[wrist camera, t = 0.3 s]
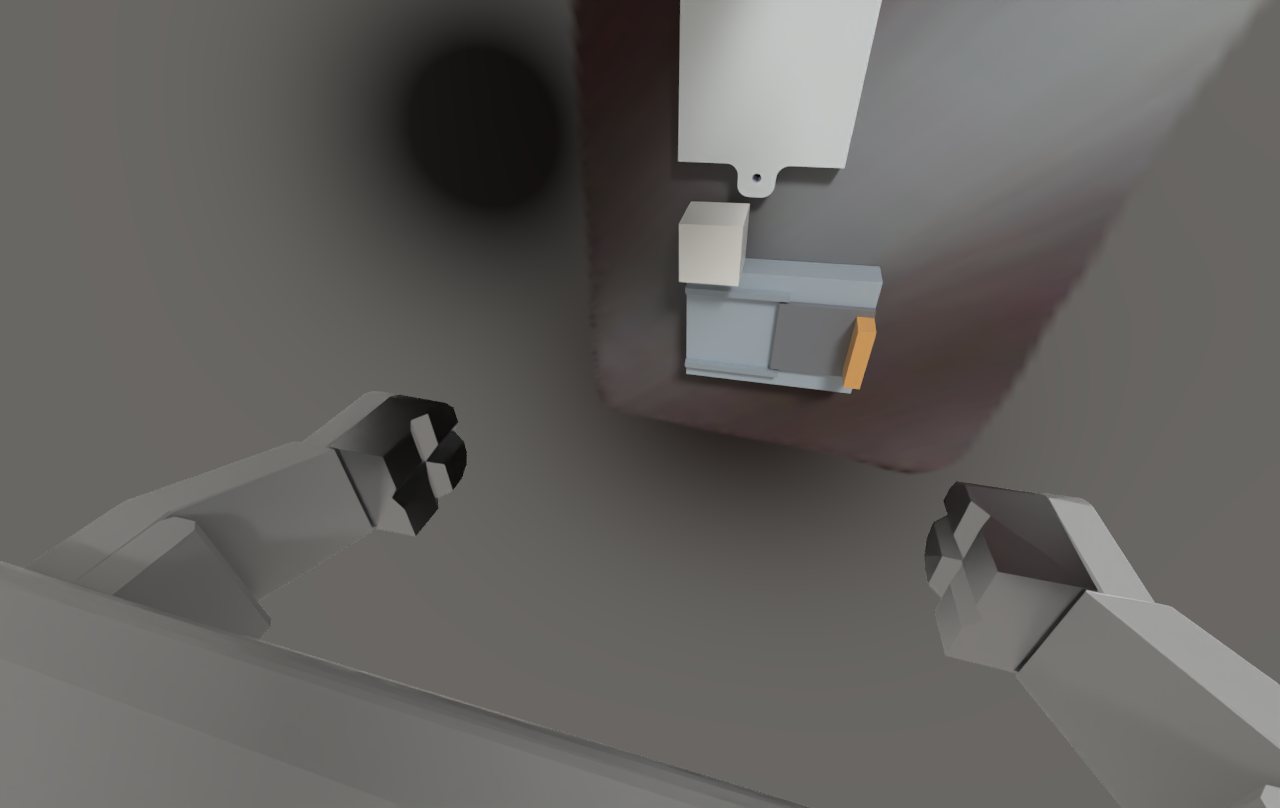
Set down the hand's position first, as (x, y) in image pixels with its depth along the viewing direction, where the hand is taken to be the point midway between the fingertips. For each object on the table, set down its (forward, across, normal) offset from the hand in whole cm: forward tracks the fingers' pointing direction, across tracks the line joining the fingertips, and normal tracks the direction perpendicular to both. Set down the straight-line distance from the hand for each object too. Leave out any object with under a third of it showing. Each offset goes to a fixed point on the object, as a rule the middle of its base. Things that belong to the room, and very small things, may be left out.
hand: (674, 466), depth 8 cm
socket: (+41, -2, +16) cm, 44 cm away
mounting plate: (+39, +1, -5) cm, 40 cm away
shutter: (+38, -6, +16) cm, 42 cm away
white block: (+40, +4, +7) cm, 41 cm away
